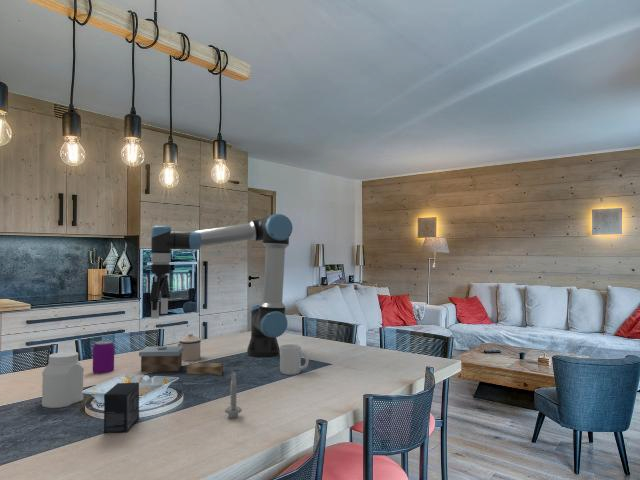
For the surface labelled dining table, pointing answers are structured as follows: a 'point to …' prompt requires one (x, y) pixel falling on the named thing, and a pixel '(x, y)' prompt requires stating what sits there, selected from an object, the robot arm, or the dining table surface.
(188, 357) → the teacup with lid
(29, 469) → the dining table surface
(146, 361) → the walnut box
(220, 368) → the block
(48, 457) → the dining table surface
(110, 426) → the small box
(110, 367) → the beverage can
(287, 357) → the mug
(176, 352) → the lid
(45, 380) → the jar
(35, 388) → the dining table surface
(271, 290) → the robot arm
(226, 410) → the screw
